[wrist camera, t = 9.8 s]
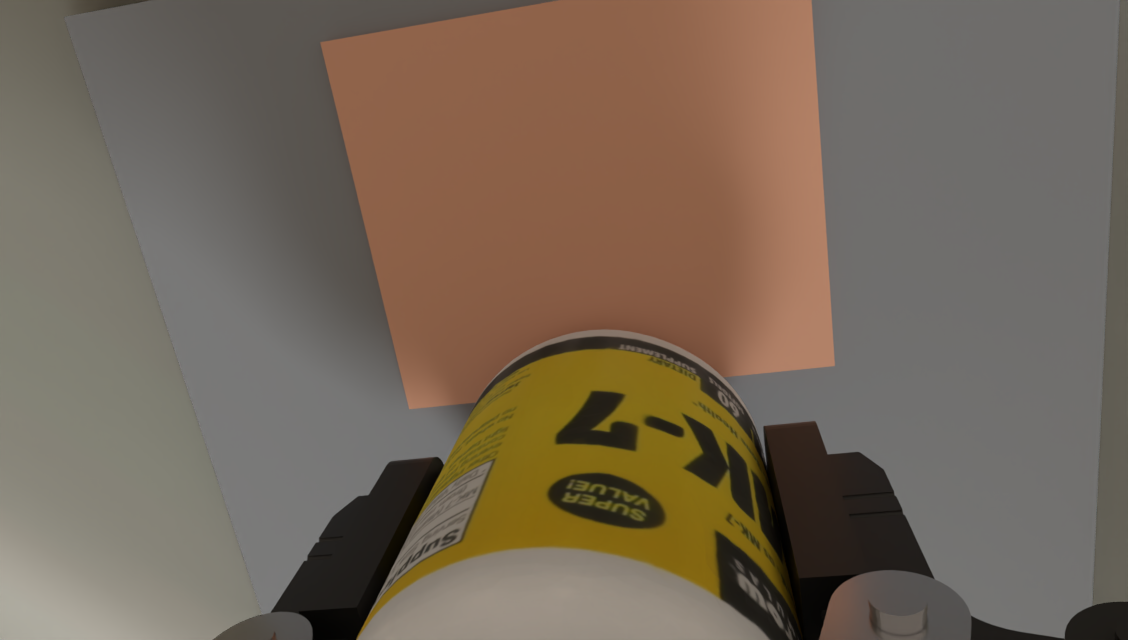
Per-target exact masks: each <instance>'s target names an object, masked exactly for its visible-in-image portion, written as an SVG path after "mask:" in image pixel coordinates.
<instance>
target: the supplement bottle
mask: <svg viewBox="0 0 1128 640" xmlns="http://www.w3.org/2000/svg"><path fill="white" fill-rule="evenodd" d="M356 640H803V636H802V632H801V628H800V624H799V620H798V616H797V610H796V605H795V600H794V595H793V589H792V585H791V580H790V575H789V569H788V564H787V560H786V554H785V549H784V545H783V541H782V537H781V533H780V529H779V523H778V518H777V514H776V510H775V506H774V501H773V495H772V491H771V487H770V481H769V475H768V471H767V466H766V461H765V457H764V453H763V448H762V445H761V441H760V438H759V435H758V432H757V429H756V426H755V424H754V421H753V419H752V417H751V415H750V413H749V411H748V409H747V408H746V406H745V404H744V403H743V401H742V400H741V398H740V397H739V395H738V394H737V393H736V391H735V390H734V389H733V388H732V387H731V385H730V384H729V383H728V382H727V381H726V380H725V379H724V378H723V377H722V376H721V375H720V374H719V373H718V372H717V371H716V370H714V369H713V368H712V367H711V366H710V365H708V364H707V363H705V362H704V361H702V360H701V359H700V358H698V357H696V356H695V355H693V354H691V353H690V352H688V351H686V350H684V349H682V348H680V347H678V346H676V345H673V344H671V343H669V342H666V341H664V340H661V339H658V338H655V337H651V336H648V335H644V334H640V333H635V332H630V331H622V330H608V329H601V330H587V331H581V332H574V333H570V334H566V335H562V336H559V337H556V338H553V339H550V340H548V341H545V342H543V343H541V344H539V345H536V346H534V347H533V348H531V349H529V350H527V351H526V352H524V353H522V354H521V355H519V356H518V357H516V358H515V359H513V360H512V361H511V362H510V363H509V364H507V365H506V366H505V367H504V368H503V369H502V370H501V371H500V372H499V373H498V374H497V375H496V376H495V377H494V378H493V379H492V380H491V382H490V383H489V384H488V385H487V386H486V388H485V389H484V391H483V392H482V394H481V395H480V397H479V398H478V400H477V402H476V403H475V405H474V407H473V409H472V411H471V413H470V415H469V417H468V420H467V422H466V424H465V426H464V428H463V429H462V431H461V433H460V435H459V437H458V439H457V441H456V443H455V445H454V447H453V449H452V451H451V453H450V455H449V457H448V459H447V461H446V463H445V465H444V467H443V469H442V471H441V473H440V475H439V477H438V479H437V480H436V482H435V484H434V486H433V488H432V490H431V492H430V494H429V496H428V498H427V500H426V502H425V504H424V506H423V508H422V510H421V512H420V514H419V516H418V517H417V519H416V521H415V523H414V525H413V527H412V529H411V531H410V533H409V535H408V537H407V540H406V541H405V543H404V545H403V547H402V549H401V551H400V553H399V555H398V557H397V559H396V561H395V563H394V565H393V567H392V569H391V571H390V573H389V575H388V577H387V579H386V581H385V583H384V585H383V587H382V589H381V591H380V593H379V595H378V597H377V599H376V601H375V603H374V605H373V607H372V609H371V611H370V613H369V615H368V617H367V619H366V621H365V623H364V625H363V627H362V629H361V631H360V633H359V634H358V637H357V639H356Z"/></svg>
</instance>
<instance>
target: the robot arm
mask: <svg viewBox="0 0 1128 640" xmlns="http://www.w3.org/2000/svg"><path fill="white" fill-rule="evenodd" d="M763 432H764V444H765V454H766V464H767V471H768V475H769V481H770V487H771V491H772V495H773V501H774V506H775V510H776V514H777V518H778V523H779V529H780V533H781V537H782V541H783V545H784V549H785V554H786V560H787V564H788V569H789V575H790V580H791V585H792V589H793V595H794V600H795V605H796V610H797V616H798V620H799V624H800V628H801V632H802V636H803V640H1128V602H1109V603H1103V604H1097V605H1094V606H1091V607H1088V608H1086V609H1084V610H1082V611H1080V612H1078V613H1077V614H1076V615H1075V616H1073V617H1072V618H1071V620H1070V621H1069V623H1068V624H1067V626H1066V630H1065V639H1064V638H1057V637H1051V636H1045V635H1038V634H1032V633H1025V632H1019V631H1014V630H1009V629H1005V628H1002V627H998V626H995V625H991V624H989V623H986V622H984V621H981V620H979V619H977V618H975V617H973V616H971V614H970V611H969V608H968V606H967V604H966V603H965V601H964V600H963V599H962V598H961V597H960V596H959V595H958V594H957V593H956V592H955V591H954V590H953V589H951V588H950V587H948V586H947V585H945V584H943V583H941V582H940V581H938V580H935V578H934V576H933V574H932V572H931V570H930V568H929V566H928V563H927V561H926V559H925V557H924V555H923V553H922V550H921V548H920V546H919V544H918V542H917V540H916V538H915V535H914V533H913V531H912V529H911V527H910V525H909V522H908V520H907V518H906V516H905V515H903V510H902V507H901V505H900V503H899V501H898V499H897V497H896V496H895V495H894V490H893V488H892V486H891V484H890V482H889V479H888V477H887V475H886V473H885V471H884V469H883V468H881V467H880V466H879V465H877V464H876V463H874V462H873V461H872V460H870V459H869V458H867V457H866V456H865V455H863V454H862V453H860V452H849V453H838V454H827V451H826V448H825V446H824V443H823V440H822V437H821V434H820V431H819V429H818V426H817V423H816V421H809V422H798V423H788V424H777V425H767V426H764V427H763ZM443 467H444V464H443V462H442V460H441V459H440V458H439V457H428V458H418V459H408V460H397V461H390V462H389V463H388V464H387V465H386V467H385V469H384V470H383V472H382V474H381V475H380V477H379V479H378V480H377V482H376V483H375V485H374V487H373V488H372V490H371V492H370V493H369V495H365V496H358V497H356V498H355V499H354V500H353V501H351V502H350V503H349V504H348V505H346V506H345V507H344V508H343V509H341V510H340V511H339V512H338V513H336V514H335V515H334V516H333V517H332V518H331V520H330V522H329V523H328V525H327V526H326V528H325V529H324V531H323V532H322V534H321V535H320V537H319V542H316V543H315V545H314V546H313V548H312V549H311V551H310V552H309V554H308V555H307V561H304V562H303V563H302V565H301V566H300V568H299V569H298V571H297V572H296V574H295V576H294V577H293V579H292V580H291V582H290V583H289V585H288V586H287V588H286V589H285V591H284V593H283V594H282V596H281V597H280V599H279V600H278V602H277V603H276V605H275V606H274V608H273V609H272V611H271V613H267V614H262V615H258V616H255V617H252V618H249V619H247V620H245V621H242V622H240V623H238V624H236V625H234V626H232V627H230V628H229V629H227V630H226V631H224V632H222V633H221V634H220V635H218V636H217V637H216V638H214V639H213V640H356V639H357V637H358V634H359V633H360V631H361V629H362V627H363V625H364V623H365V621H366V619H367V617H368V615H369V613H370V611H371V609H372V607H373V605H374V603H375V601H376V599H377V597H378V595H379V593H380V591H381V589H382V587H383V585H384V583H385V581H386V579H387V577H388V575H389V573H390V571H391V569H392V567H393V565H394V563H395V561H396V559H397V557H398V555H399V553H400V551H401V549H402V547H403V545H404V543H405V541H406V540H407V537H408V535H409V533H410V531H411V529H412V527H413V525H414V523H415V521H416V519H417V517H418V516H419V514H420V512H421V510H422V508H423V506H424V504H425V502H426V500H427V498H428V496H429V494H430V492H431V490H432V488H433V486H434V484H435V482H436V480H437V479H438V477H439V475H440V473H441V471H442V469H443Z"/></svg>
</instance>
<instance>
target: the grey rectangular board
mask: <svg viewBox="0 0 1128 640" xmlns="http://www.w3.org/2000/svg"><path fill="white" fill-rule="evenodd" d="M1119 14H1120V0H150V1H145V2H140V3H134V4H129V5H124V6H119V7H113V8H108V9H103V10H98V11H92V12H87V13H82V14H77V15H71V16H66V17H64V19H65V22H66V25H67V28H68V31H69V34H70V37H71V40H72V43H73V47H74V50H75V53H76V56H77V59H78V62H79V65H80V68H81V71H82V74H83V77H84V80H85V83H86V86H87V89H88V92H89V95H90V98H91V101H92V104H93V107H94V110H95V113H96V116H97V119H98V122H99V125H100V128H101V131H102V134H103V137H104V140H105V143H106V146H107V149H108V152H109V155H110V158H111V161H112V164H113V167H114V170H115V173H116V176H117V179H118V182H119V185H120V188H121V191H122V194H123V197H124V200H125V203H126V206H127V209H128V212H129V215H130V218H131V221H132V224H133V227H134V230H135V233H136V236H137V239H138V242H139V245H140V248H141V251H142V254H143V257H144V260H145V263H146V266H147V269H148V272H149V275H150V278H151V281H152V284H153V287H154V290H155V293H156V296H157V299H158V302H159V305H160V308H161V311H162V314H163V317H164V320H165V323H166V326H167V329H168V332H169V335H170V338H171V342H172V345H173V348H174V351H175V354H176V357H177V360H178V363H179V366H180V369H181V372H182V375H183V378H184V381H185V384H186V387H187V390H188V393H189V396H190V399H191V402H192V405H193V408H194V411H195V414H196V417H197V420H198V423H199V426H200V429H201V432H202V435H203V438H204V441H205V444H206V447H207V450H208V453H209V456H210V459H211V462H212V465H213V468H214V471H215V474H216V477H217V480H218V483H219V486H220V489H221V492H222V495H223V498H224V501H225V504H226V507H227V510H228V513H229V516H230V519H231V522H232V525H233V528H234V531H235V534H236V537H237V540H238V543H239V546H240V549H241V552H242V555H243V558H244V561H245V564H246V567H247V570H248V573H249V576H250V579H251V582H252V585H253V588H254V591H255V594H256V597H257V600H258V603H259V606H260V609H261V612H262V614H267V613H271V611H272V609H273V608H274V606H275V605H276V603H277V602H278V600H279V599H280V597H281V596H282V594H283V593H284V591H285V589H286V588H287V586H288V585H289V583H290V582H291V580H292V579H293V577H294V576H295V574H296V572H297V571H298V569H299V568H300V566H301V565H302V563H303V562H304V561H307V555H308V554H309V552H310V551H311V549H312V548H313V546H314V545H315V543H316V542H319V537H320V535H321V534H322V532H323V531H324V529H325V528H326V526H327V525H328V523H329V522H330V520H331V518H332V517H333V516H334V515H335V514H336V513H338V512H339V511H340V510H341V509H343V508H344V507H345V506H346V505H348V504H349V503H350V502H351V501H353V500H354V499H355V498H356V497H358V496H365V495H369V493H370V492H371V490H372V488H373V487H374V485H375V483H376V482H377V480H378V479H379V477H380V475H381V474H382V472H383V470H384V469H385V467H386V465H387V464H388V463H389V462H390V461H397V460H408V459H418V458H428V457H439V458H440V459H441V460H442V462H443V464H444V465H445V463H446V461H447V459H448V457H449V455H450V453H451V451H452V449H453V447H454V445H455V443H456V441H457V439H458V437H459V435H460V433H461V431H462V429H463V428H464V426H465V424H466V422H467V420H468V417H469V415H470V413H471V411H472V409H473V407H474V405H475V403H476V402H477V400H478V398H479V397H480V395H481V394H482V392H483V391H484V389H485V388H486V386H487V385H488V384H489V383H490V382H491V380H492V379H493V378H494V377H495V376H496V375H497V374H498V373H499V372H500V371H501V370H502V369H503V368H504V367H505V366H506V365H507V364H509V363H510V362H511V361H512V360H513V359H515V358H516V357H518V356H519V355H521V354H522V353H524V352H526V351H527V350H529V349H531V348H533V347H534V346H536V345H539V344H541V343H543V342H545V341H548V340H550V339H553V338H556V337H559V336H562V335H566V334H570V333H574V332H581V331H587V330H601V329H608V330H622V331H630V332H635V333H640V334H644V335H648V336H651V337H655V338H658V339H661V340H664V341H666V342H669V343H671V344H673V345H676V346H678V347H680V348H682V349H684V350H686V351H688V352H690V353H691V354H693V355H695V356H696V357H698V358H700V359H701V360H702V361H704V362H705V363H707V364H708V365H710V366H711V367H712V368H713V369H714V370H716V371H717V372H718V373H719V374H720V375H721V376H722V377H723V378H724V379H725V380H726V381H727V382H728V383H729V384H730V385H731V387H732V388H733V389H734V390H735V391H736V393H737V394H738V395H739V397H740V398H741V400H742V401H743V403H744V404H745V406H746V408H747V409H748V411H749V413H750V415H751V417H752V419H753V421H754V424H755V426H756V429H757V432H758V435H759V438H760V441H761V445H762V448H763V453H764V457H765V461H766V454H765V444H764V432H763V427H764V426H767V425H777V424H788V423H798V422H809V421H816V423H817V426H818V429H819V431H820V434H821V437H822V440H823V443H824V446H825V448H826V451H827V454H838V453H849V452H860V453H862V454H863V455H865V456H866V457H867V458H869V459H870V460H872V461H873V462H874V463H876V464H877V465H879V466H880V467H881V468H883V469H884V471H885V473H886V475H887V477H888V479H889V482H890V484H891V486H892V488H893V490H894V495H895V496H896V497H897V499H898V501H899V503H900V505H901V507H902V510H903V515H905V516H906V518H907V520H908V522H909V525H910V527H911V529H912V531H913V533H914V535H915V538H916V540H917V542H918V544H919V546H920V548H921V550H922V553H923V555H924V557H925V559H926V561H927V563H928V566H929V568H930V570H931V572H932V574H933V576H934V578H935V580H938V581H940V582H941V583H943V584H945V585H947V586H948V587H950V588H951V589H953V590H954V591H955V592H956V593H957V594H958V595H959V596H960V597H961V598H962V599H963V600H964V601H965V603H966V604H967V606H968V608H969V611H970V614H971V616H973V617H975V618H977V619H979V620H981V621H984V622H986V623H989V624H991V625H995V626H998V627H1002V628H1005V629H1009V630H1014V631H1019V632H1025V633H1032V634H1038V635H1045V636H1051V637H1057V638H1064V639H1065V630H1066V626H1067V624H1068V623H1069V621H1070V620H1071V618H1072V617H1073V616H1075V615H1076V614H1077V613H1078V612H1080V611H1082V610H1084V609H1086V608H1088V607H1091V606H1092V603H1093V581H1094V559H1095V537H1096V515H1097V494H1098V472H1099V450H1100V428H1101V406H1102V385H1103V363H1104V341H1105V319H1106V298H1107V276H1108V254H1109V232H1110V210H1111V189H1112V167H1113V145H1114V123H1115V102H1116V80H1117V58H1118V36H1119ZM766 466H767V464H766Z"/></svg>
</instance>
